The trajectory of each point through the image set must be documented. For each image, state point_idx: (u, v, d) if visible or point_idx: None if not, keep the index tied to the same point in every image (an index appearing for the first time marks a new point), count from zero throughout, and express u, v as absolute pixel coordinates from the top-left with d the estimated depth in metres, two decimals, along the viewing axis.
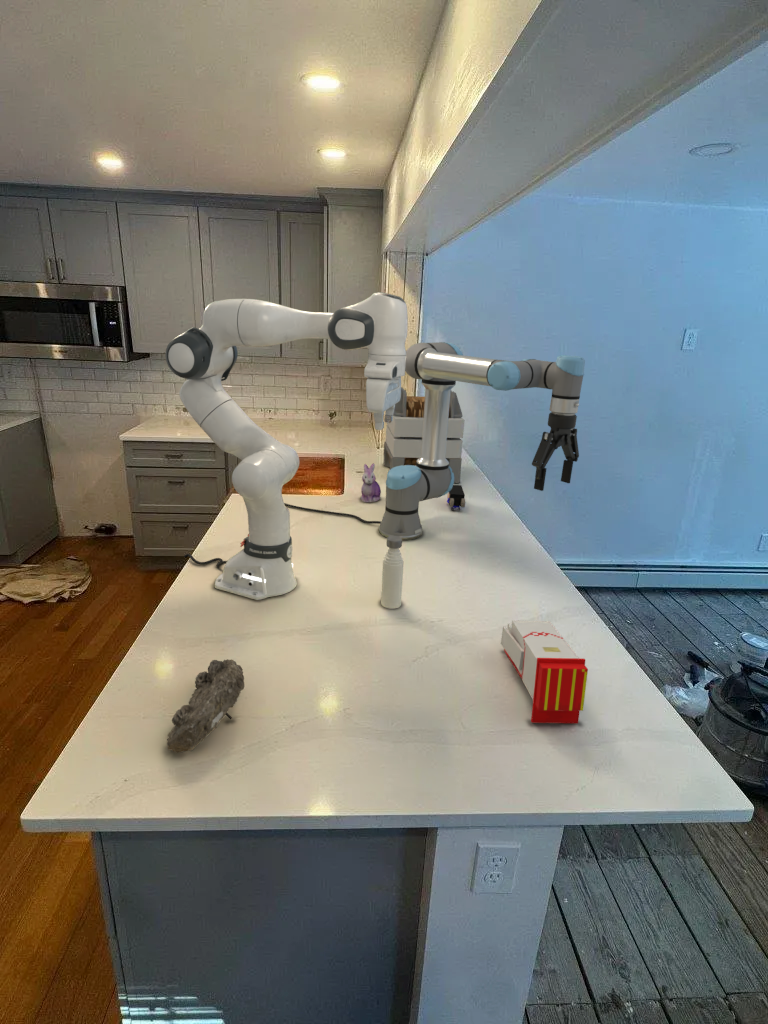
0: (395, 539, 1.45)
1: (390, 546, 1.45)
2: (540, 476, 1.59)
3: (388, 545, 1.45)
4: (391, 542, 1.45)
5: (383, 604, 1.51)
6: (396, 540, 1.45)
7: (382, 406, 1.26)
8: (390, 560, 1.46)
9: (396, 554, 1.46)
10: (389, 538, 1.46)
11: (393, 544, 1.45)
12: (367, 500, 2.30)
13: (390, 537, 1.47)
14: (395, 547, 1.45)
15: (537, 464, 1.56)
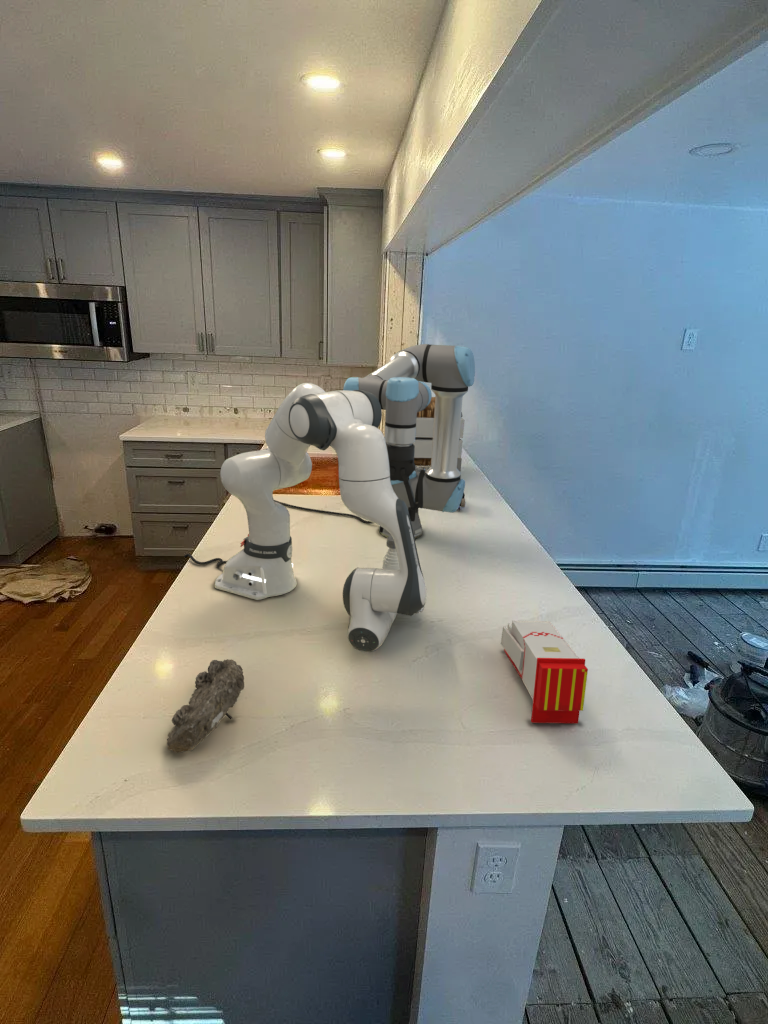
0: None
1: (390, 546, 1.45)
2: None
3: (388, 545, 1.45)
4: (391, 542, 1.45)
5: None
6: None
7: None
8: (390, 560, 1.46)
9: (396, 554, 1.46)
10: (389, 538, 1.46)
11: (393, 544, 1.45)
12: None
13: (390, 537, 1.47)
14: (395, 547, 1.45)
15: None
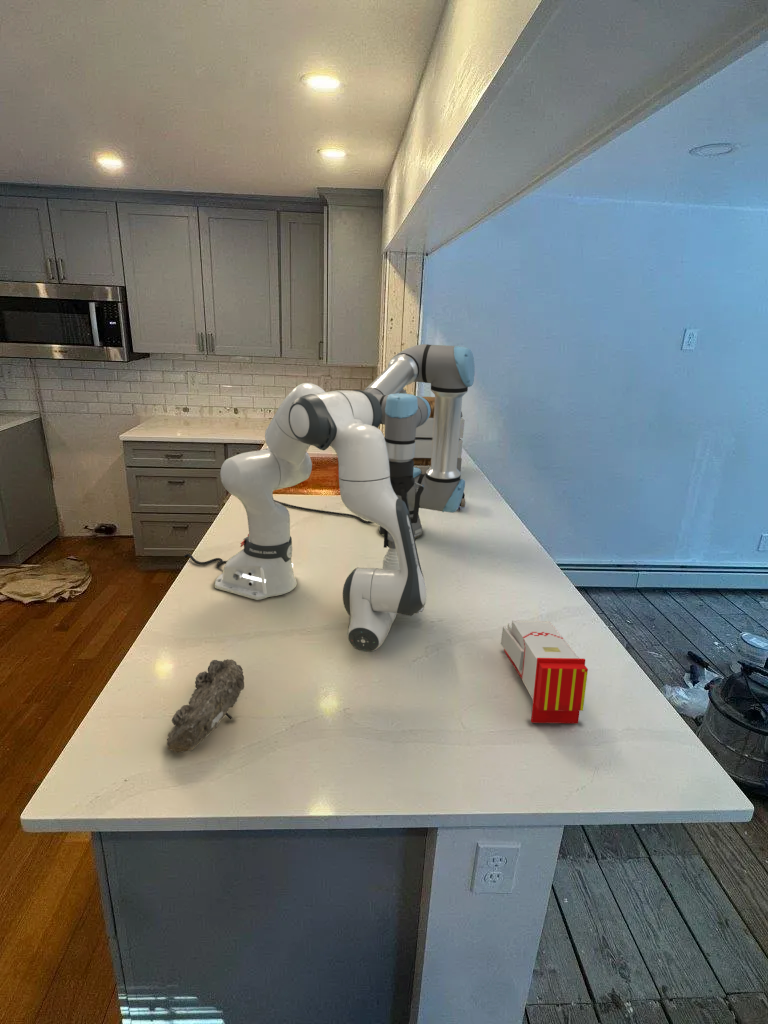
0: None
1: (390, 546, 1.45)
2: None
3: (388, 545, 1.45)
4: (391, 542, 1.45)
5: None
6: None
7: None
8: (390, 560, 1.46)
9: (396, 554, 1.46)
10: (389, 538, 1.46)
11: (393, 544, 1.45)
12: None
13: (390, 537, 1.47)
14: (395, 547, 1.45)
15: None
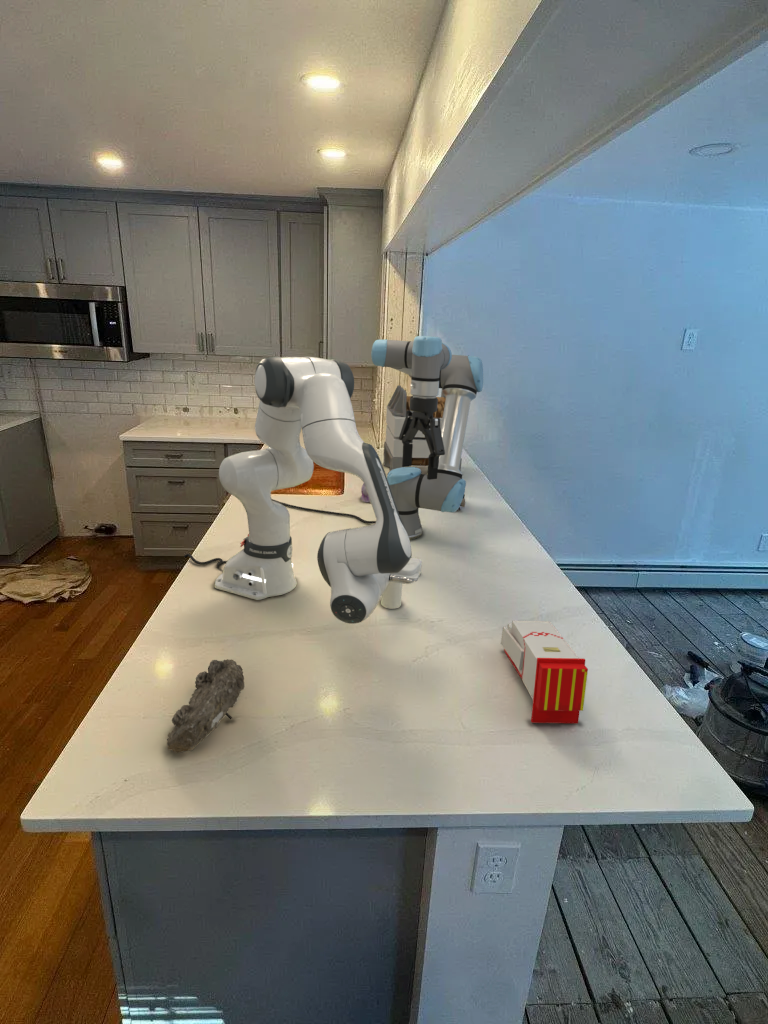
0: None
1: None
2: None
3: None
4: None
5: (383, 604, 1.51)
6: None
7: None
8: None
9: None
10: None
11: None
12: (367, 500, 2.30)
13: None
14: None
15: None
